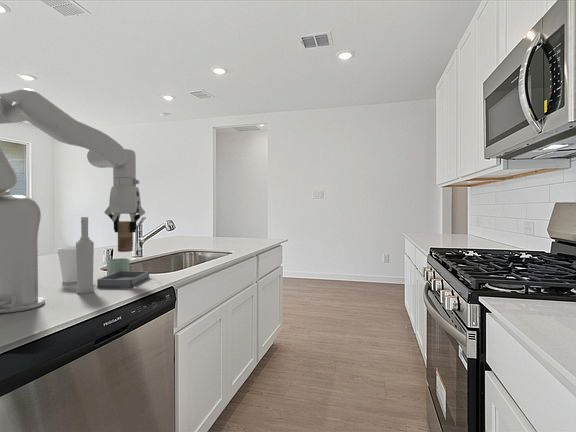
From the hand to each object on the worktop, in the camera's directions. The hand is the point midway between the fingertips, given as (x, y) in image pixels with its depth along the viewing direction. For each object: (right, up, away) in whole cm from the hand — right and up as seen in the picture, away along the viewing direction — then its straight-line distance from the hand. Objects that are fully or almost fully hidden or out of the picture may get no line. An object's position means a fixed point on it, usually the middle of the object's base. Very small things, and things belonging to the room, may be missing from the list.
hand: (125, 231), depth 126 cm
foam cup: (-20, -19, +2) cm, 28 cm away
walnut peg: (0, -7, 0) cm, 7 cm away
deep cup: (-9, -19, +14) cm, 25 cm away
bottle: (-7, -20, -12) cm, 25 cm away
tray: (0, -19, 0) cm, 19 cm away
